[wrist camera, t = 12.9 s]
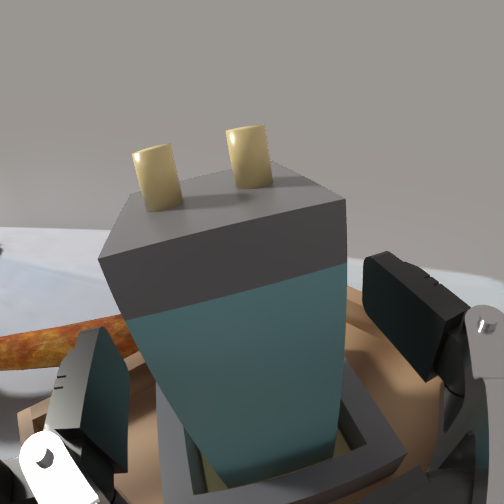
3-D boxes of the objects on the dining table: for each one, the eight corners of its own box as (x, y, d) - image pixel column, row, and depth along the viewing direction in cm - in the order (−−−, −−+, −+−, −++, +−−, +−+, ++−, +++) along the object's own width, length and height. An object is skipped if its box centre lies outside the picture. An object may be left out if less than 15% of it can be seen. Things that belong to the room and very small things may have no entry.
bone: (230, 303, 26) (211, 226, 18) (244, 400, 21) (228, 368, 13) (-29, 329, 24) (-82, 287, 16) (-37, 393, 19) (-98, 360, 11)
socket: (188, 535, 9) (166, 525, 7) (170, 388, 17) (155, 361, 16) (394, 473, 10) (407, 452, 9) (319, 348, 18) (318, 318, 17)
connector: (228, 488, 11) (72, 184, 5) (210, 409, 15) (119, 151, 9) (333, 457, 11) (339, 125, 5) (298, 385, 16) (266, 119, 10)
